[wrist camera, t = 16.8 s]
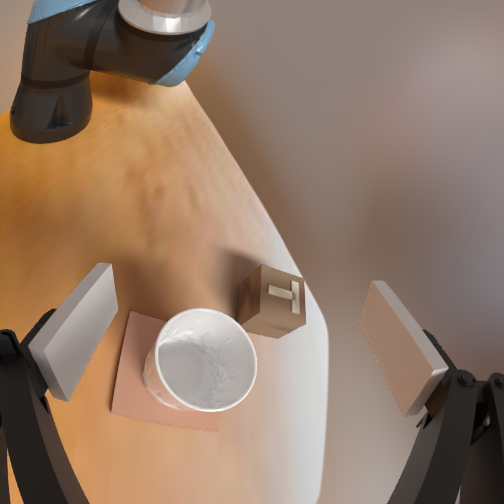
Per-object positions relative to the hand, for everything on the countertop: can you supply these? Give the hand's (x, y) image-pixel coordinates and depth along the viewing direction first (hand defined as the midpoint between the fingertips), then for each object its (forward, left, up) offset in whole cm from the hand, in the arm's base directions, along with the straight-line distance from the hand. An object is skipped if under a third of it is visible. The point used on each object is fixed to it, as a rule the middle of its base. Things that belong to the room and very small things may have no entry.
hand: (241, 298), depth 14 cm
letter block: (-9, +11, -19) cm, 24 cm away
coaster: (+1, +1, -19) cm, 19 cm away
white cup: (+1, +1, -18) cm, 18 cm away
